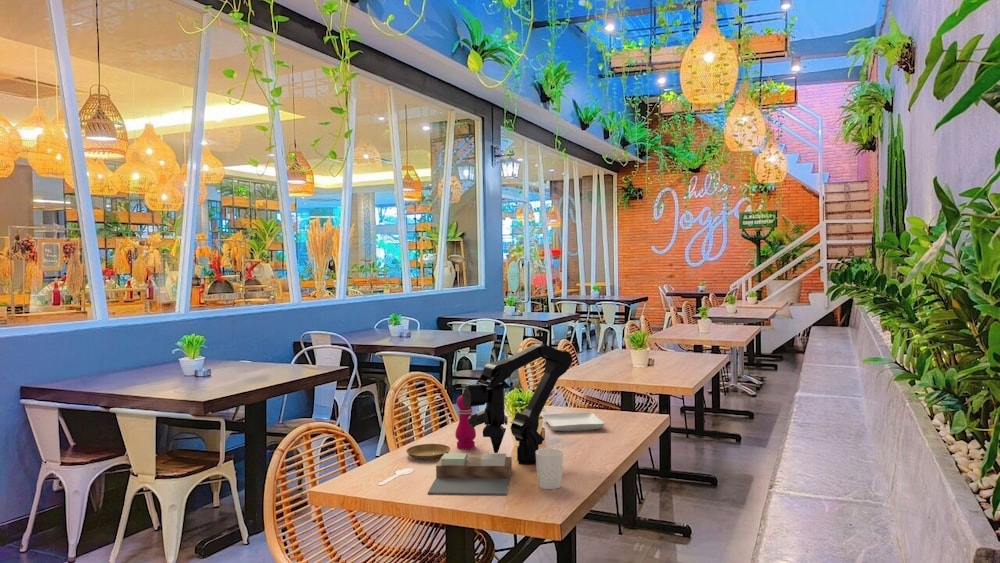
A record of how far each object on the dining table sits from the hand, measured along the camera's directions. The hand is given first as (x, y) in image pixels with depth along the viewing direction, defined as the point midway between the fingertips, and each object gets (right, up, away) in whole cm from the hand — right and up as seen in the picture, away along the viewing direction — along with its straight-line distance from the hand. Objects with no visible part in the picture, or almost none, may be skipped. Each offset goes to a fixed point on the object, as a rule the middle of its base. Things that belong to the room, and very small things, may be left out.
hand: (496, 452), depth 215 cm
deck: (-7, -5, -6) cm, 10 cm away
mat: (-8, -5, -18) cm, 20 cm away
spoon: (-31, -6, -7) cm, 32 cm away
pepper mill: (-11, -5, +25) cm, 28 cm away
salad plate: (+30, -4, +54) cm, 62 cm away
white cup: (+16, -5, -18) cm, 24 cm away
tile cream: (-1, -1, -8) cm, 8 cm away
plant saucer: (-23, -5, +14) cm, 27 cm away
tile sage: (-13, -1, -7) cm, 15 cm away
